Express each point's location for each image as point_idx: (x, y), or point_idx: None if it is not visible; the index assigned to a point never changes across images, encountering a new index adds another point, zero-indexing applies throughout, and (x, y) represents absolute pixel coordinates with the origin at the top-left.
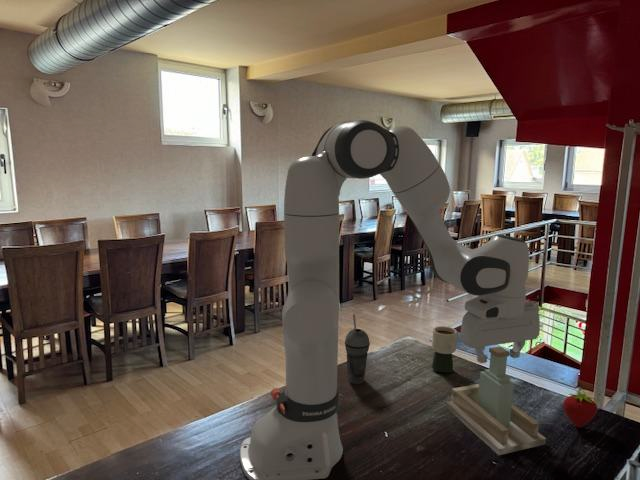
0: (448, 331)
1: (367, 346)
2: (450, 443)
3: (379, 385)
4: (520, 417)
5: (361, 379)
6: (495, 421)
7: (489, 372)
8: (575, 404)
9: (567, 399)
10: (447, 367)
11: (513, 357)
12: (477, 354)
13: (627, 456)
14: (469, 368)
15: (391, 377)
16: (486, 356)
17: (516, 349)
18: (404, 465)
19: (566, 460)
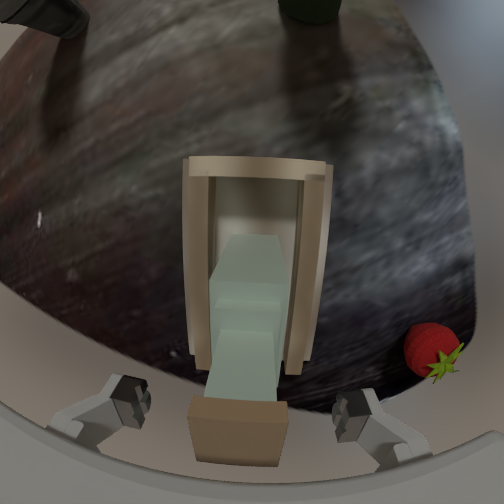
0: None
1: (22, 7)
2: (123, 286)
3: (101, 42)
4: (289, 336)
5: (70, 33)
6: (203, 340)
7: (218, 334)
8: (417, 368)
9: (425, 349)
10: (308, 13)
11: (334, 410)
12: (100, 392)
13: (393, 394)
14: (388, 32)
15: (147, 10)
16: (134, 427)
17: (365, 435)
18: (46, 299)
19: (301, 387)
